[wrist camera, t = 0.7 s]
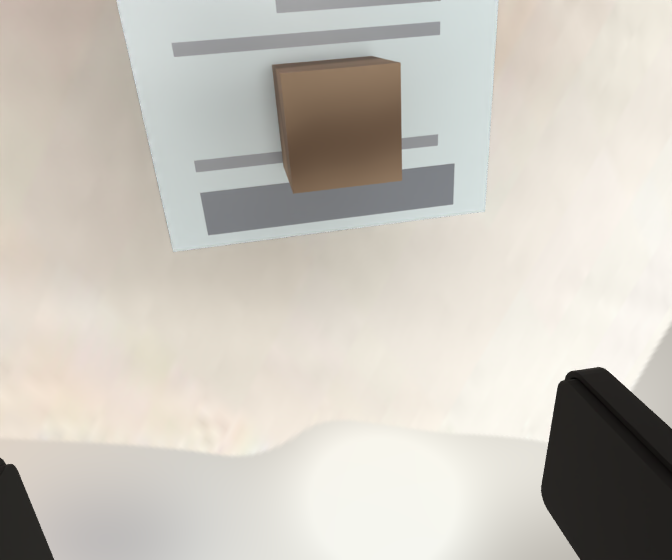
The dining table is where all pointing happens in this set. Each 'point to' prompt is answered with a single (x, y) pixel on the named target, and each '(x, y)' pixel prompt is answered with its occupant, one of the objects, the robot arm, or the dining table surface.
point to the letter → (262, 120)
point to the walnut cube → (339, 122)
